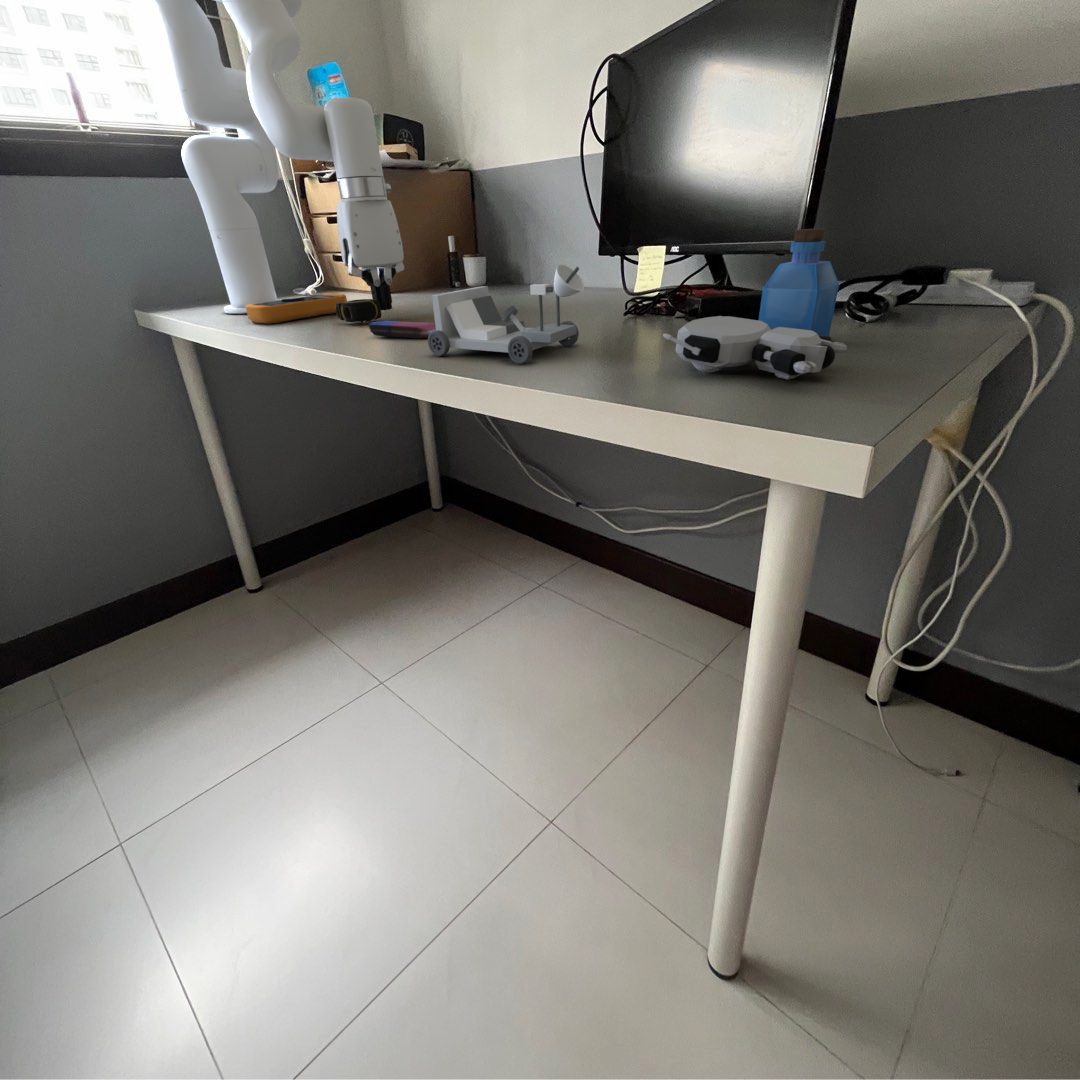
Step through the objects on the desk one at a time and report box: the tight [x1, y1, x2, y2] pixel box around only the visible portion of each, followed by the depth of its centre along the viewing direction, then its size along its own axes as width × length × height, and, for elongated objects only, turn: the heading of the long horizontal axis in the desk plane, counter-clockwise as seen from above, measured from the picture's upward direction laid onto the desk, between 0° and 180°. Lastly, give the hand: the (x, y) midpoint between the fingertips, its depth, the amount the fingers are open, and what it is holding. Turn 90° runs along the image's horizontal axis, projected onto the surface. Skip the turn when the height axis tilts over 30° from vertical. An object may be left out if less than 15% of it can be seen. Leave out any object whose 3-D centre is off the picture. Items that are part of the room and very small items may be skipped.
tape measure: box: [335, 298, 382, 325], centre depth 99 cm, size 7×7×4 cm
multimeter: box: [245, 292, 348, 325], centre depth 111 cm, size 9×18×3 cm, turn 141°
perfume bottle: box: [758, 228, 840, 336], centre depth 66 cm, size 6×6×12 cm
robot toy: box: [662, 315, 848, 380], centre depth 56 cm, size 12×4×15 cm
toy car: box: [427, 263, 585, 365], centre depth 70 cm, size 18×10×12 cm
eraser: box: [368, 320, 436, 339], centre depth 86 cm, size 11×4×2 cm, turn 67°
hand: (384, 309), depth 104 cm, fingers closed
